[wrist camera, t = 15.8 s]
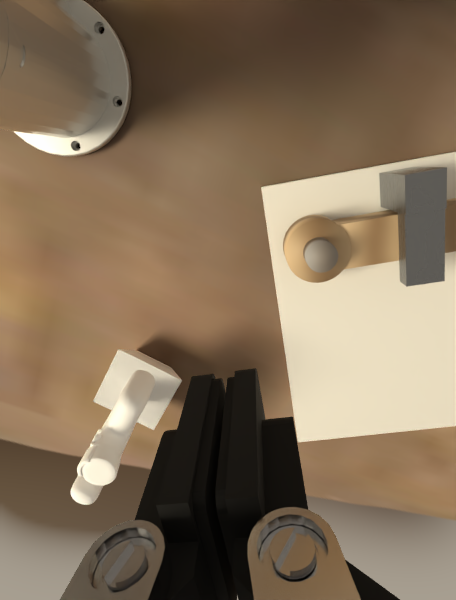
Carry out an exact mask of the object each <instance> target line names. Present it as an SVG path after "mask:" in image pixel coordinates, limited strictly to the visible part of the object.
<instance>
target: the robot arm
mask: <svg viewBox="0 0 456 600" xmlns="http://www.w3.org/2000/svg"><path fill="white" fill-rule="evenodd" d="M103 28H104V29H105V30H104V32H103V33H102V34H101V29H103ZM130 99H131V74H130V67H129V63H128V59H127V56H126V53H125V50H124V48H123V46H122V44H121V42H120V40H119V38H118V36H117V34H116V33H115V31H114V30H113V29H112V27H111V26H110V24H109V23H108V22H107V21H106V20H105V19H104V18H103V17H102V15H101V14H100V13H99V12H98V11H96V10H95V9H94V8H93V7H91V6H90V5H89V4H88V3H86V2H85V1H83V0H0V129H1V130H8V131H13V132H14V133H15V134H17V135H18V136H19V137H20V138H21V139H22V140H24V141H25V142H26V143H28V144H29V145H31V146H33V147H35V148H36V149H38V150H41V151H43V152H46V153H49V154H53V155H59V156H80V155H86V154H89V153H91V152H94V151H97V150H98V149H100V148H101V147H103V146H104V145H106V144H107V143H108V142H109V141H110V140H111V139H112V138H113V137H114V136H115V135H116V134H117V132H118V131H119V129H120V128H121V126H122V124H123V123H124V120H125V118H126V115H127V112H128V110H129V105H130ZM120 100H122V105H121V106H119V105H118V102H119V101H120ZM79 143H80V147H81V148H80V149H79V148H78V144H79ZM237 595H238V599H239V600H400V599H398V598H397V597H395V596H394V595H393V594H392V593H390V592H389V591H387V590H386V589H385V588H383V587H382V586H381V585H379V584H378V583H376V582H375V581H374V580H372V579H371V578H370V577H368V576H367V575H365V574H364V573H363V572H361V571H360V570H359V569H357V568H356V567H354V566H353V565H352V564H350V563H349V562H348V561H346V560H345V558H344V556H343V554H342V551H341V548H340V546H339V543H338V541H337V538H336V536H335V534H334V532H333V531H332V529H331V527H330V526H329V524H328V523H327V522H326V521H325V520H324V519H322V518H321V517H320V516H319V515H317V514H315V513H313V512H311V511H309V510H308V506H307V500H306V494H305V488H304V481H303V475H302V469H301V463H300V457H299V451H298V445H297V439H296V433H295V427H294V421H293V417H285V418H276V419H267V420H265V414H264V409H263V403H262V397H261V391H260V386H259V380H258V374H257V370H256V369H248V370H240V371H235V377H229V378H228V379H227V387H226V392H225V388H224V383H223V380H222V378H221V379H215V376H214V374H209V375H201V376H193V377H192V378H191V382H190V385H189V389H188V393H187V396H186V400H185V403H184V407H183V410H182V414H181V418H180V421H179V425H178V428H177V430H169V431H165V432H164V434H163V436H162V438H161V441H160V444H159V447H158V450H157V453H156V457H155V460H154V463H153V466H152V469H151V472H150V475H149V478H148V481H147V484H146V487H145V490H144V493H143V496H142V499H141V502H140V505H139V508H138V512H137V515H136V518H135V520H133V521H127V522H124V523H121V524H119V525H116V526H115V527H113V528H111V529H110V530H108V531H106V532H105V533H104V534H103V535H102V536H101V537H99V538H98V539H97V540H96V541H95V542H94V543H93V545H92V546H91V548H90V549H89V550H88V552H87V553H86V554H85V556H84V558H83V560H82V562H81V563H80V565H79V567H78V569H77V570H76V572H75V574H74V576H73V577H72V579H71V581H70V583H69V585H68V586H67V588H66V590H65V592H64V594H63V595H62V597H61V599H60V600H237Z"/></svg>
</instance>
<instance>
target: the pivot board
mask: <svg viewBox="0 0 456 600" xmlns="http://www.w3.org/2000/svg"><path fill="white" fill-rule="evenodd" d="M410 167H447V199H453V198H456V151H455V152H449V153H444V154H438V155H433V156H427V157H422V158H416V159H411V160H406V161H400V162H395V163H389V164H384V165H378V166H373V167H367V168H362V169H356V170H351V171H345V172H340V173H334V174H329V175H323V176H318V177H312V178H307V179H301V180H296V181H290V182H285V183H279V184H274V185H268V186H263V187H261V189H262V196H263V203H264V210H265V217H266V224H267V231H268V238H269V245H270V252H271V258H272V265H273V272H274V279H275V286H276V293H277V300H278V307H279V314H280V321H281V328H282V335H283V342H284V349H285V356H286V363H287V369H288V376H289V383H290V390H291V397H292V404H293V411H294V418H295V425H296V432H297V439H298V442H305V441H315V440H325V439H334V438H344V437H354V436H363V435H373V434H382V433H392V432H402V431H411V430H421V429H431V428H440V427H450V426H456V251H455V252H449V253H445V281H442V282H435V283H428V284H421V285H414V286H408V287H406V286H405V285H404V284H403V283H401V282H400V270H399V261H393V262H387V263H381V264H374V265H368V266H362V267H356V268H350V269H344V270H343V271H342V272H341V273H340V274H339V275H337V276H336V277H334V278H333V279H331V280H328V281H325V282H320V283H312V282H307V281H304V280H302V279H300V278H299V277H297V276H296V275H295V274H294V273H293V272H292V271H291V269H290V268H289V266H288V263H287V260H286V258H285V255H284V251H283V240H284V237H285V234H286V232H287V230H288V229H289V227H290V226H291V225H292V224H293V223H294V222H295V221H297V220H298V219H300V218H302V217H305V216H308V215H321V216H325V217H327V218H329V219H330V220H335V219H340V218H346V217H352V216H357V215H363V214H368V213H374V212H380V211H385V210H388V209H385V208H382V207H381V203H380V181H379V173H382V172H388V171H393V170H399V169H405V168H410Z"/></svg>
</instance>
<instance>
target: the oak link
mask: <svg viewBox="0 0 456 600" xmlns="http://www.w3.org/2000/svg"><path fill="white" fill-rule="evenodd" d="M283 251H284V255H285V258H286V260H287V263H288V266H289V268H290V269H291V271H292V272H293V273H294V274H295V275H296V276H297V277H299V278H300V279H302V280H304V281H307V282H312V283H320V282H325V281H328V280H331V279H333V278H334V277H336V276H337V275H339V274H340V273H341V272H342V271H343V270H344V269H350V268H356V267H362V266H368V265H374V264H381V263H387V262H393V261H399V238H398V213H397V212H394V211H391V210H385V211H380V212H374V213H368V214H363V215H357V216H352V217H346V218H340V219H335V220H330V219H329V218H327V217H325V216H321V215H308V216H305V217H302V218H300V219H298V220H297V221H295V222H294V223H293V224H292V225H291V226H290V227H289V229H288V230H287V232H286V234H285V237H284V240H283ZM455 251H456V198H453V199H447V209H445V253H449V252H455Z"/></svg>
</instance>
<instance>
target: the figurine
mask: <svg viewBox="0 0 456 600" xmlns="http://www.w3.org/2000/svg"><path fill="white" fill-rule="evenodd" d="M181 382H182V380H181V378H180V377H179V376H178V375H177V374H176V373H175V371H174V370H173V369H172V368H171V367H170V366H168V365H166V364H164V363H161V362H159V361H157V360H155V359H153V358H151V357H149V356H147V355H145V354H143V353H141V352H139V351H137V350H125V349H118V351H117V353H116V355H115V357H114V359H113V362H112V364H111V366H110V368H109V370H108V372H107V374H106V376H105V378H104V380H103V382H102V384H101V386H100V388H99V390H98V392H97V394H96V397H95V399H94V401H93V402H95V403H97V404H100V405H102V406H104V407H106V408H108V409H110V410H112V411H111V413H110V415H109V416H108V418H107V420H106V422H105V423H104V425H103V427H102V429H101V430H100V429H99V430H98V431H97V433H96V435H95V437H94V439H93V441H92V442H91V444H90V447H89V448H88V449H87V451H86V452H85V454H84V456H83V458H82V460H81V461H80V463H79V465H78V468H77V473H78V477H77V479H76V480H75V482H74V484H73V486H72V489H71V496H72V498H73V499H74V500H75V501H76V502H78V503H80V504H85V505H88V504H91V503H93V502H94V501H95V500H96V499H97V497H98V496H99V493H100V491H101V489H102V487H103V485H107V484H109V483H111V482H112V481H113V480H114V479H115V477H116V475H117V471H118V468H119V465H120V461H121V455H122V453H123V451H124V448H125V446H126V444H127V442H128V440H129V438H130V435H131V433H132V431H133V429H134V426H135V424H136V422H138V423H140V424H142V425H144V426H146V427H148V428H151V429H153V430H154V429H155V427H156V425H157V423H158V422H159V420H160V418H161V416H162V415H163V413H164V411H165V409H166V408H167V406H168V404H169V403H170V401H171V399H172V397H173V396H174V394H175V392H176V390H177V389H178V387H179V385H180V383H181Z"/></svg>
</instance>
